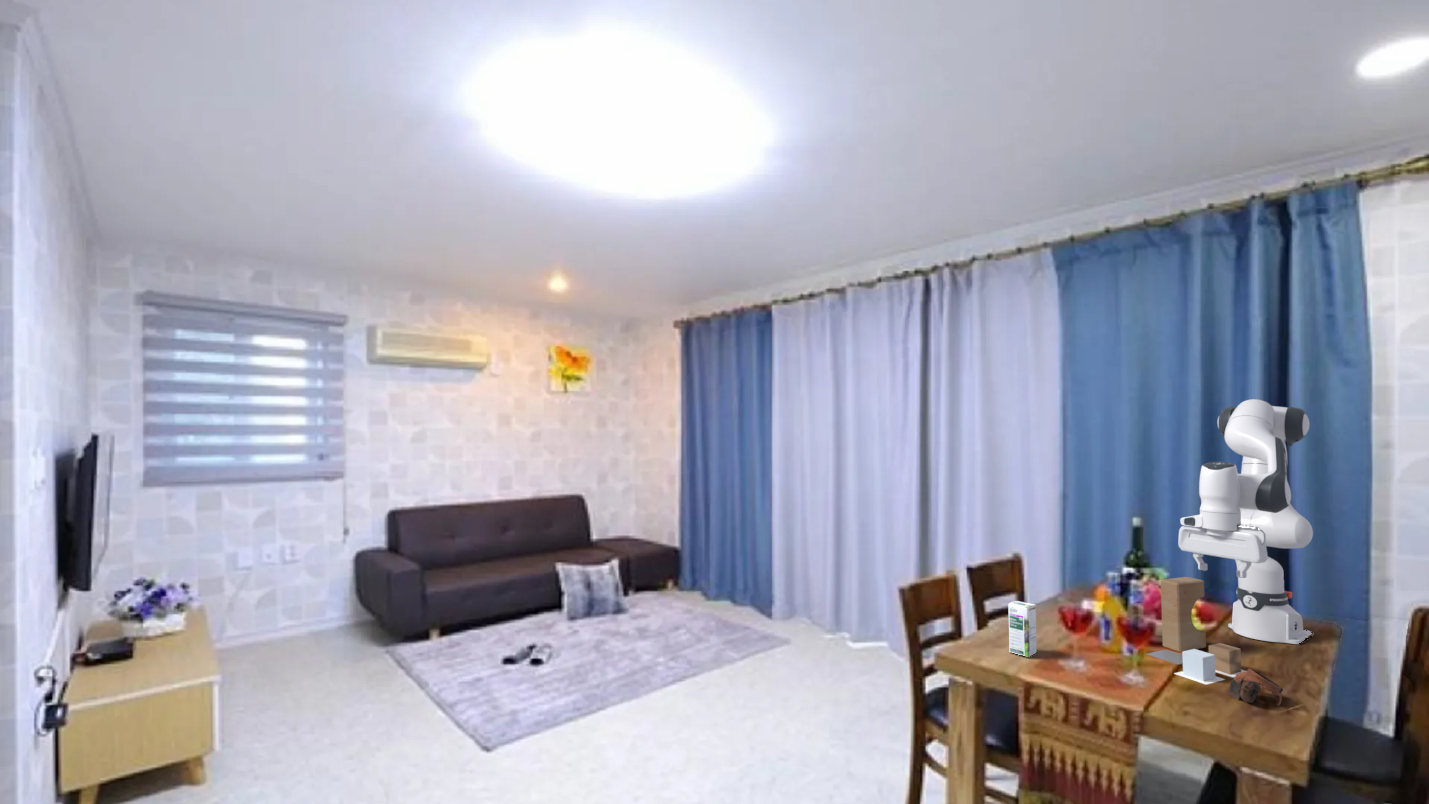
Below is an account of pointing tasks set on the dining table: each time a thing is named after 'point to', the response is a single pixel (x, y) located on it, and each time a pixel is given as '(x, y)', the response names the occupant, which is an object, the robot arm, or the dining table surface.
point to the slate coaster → (1168, 656)
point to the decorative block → (1181, 613)
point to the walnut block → (1226, 658)
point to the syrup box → (1022, 628)
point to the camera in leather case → (1252, 686)
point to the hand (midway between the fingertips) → (1221, 573)
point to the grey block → (1199, 664)
